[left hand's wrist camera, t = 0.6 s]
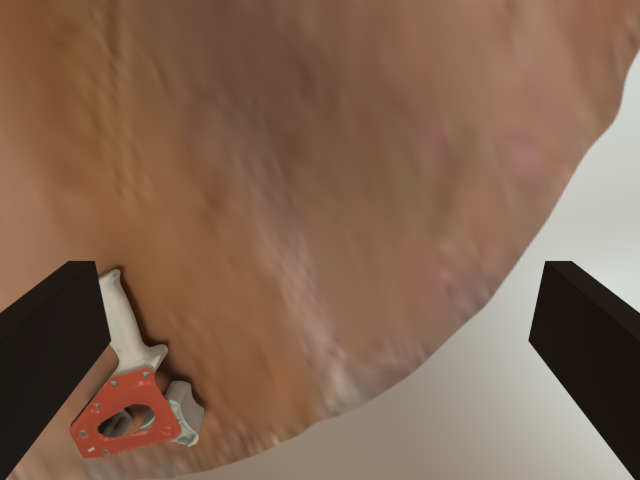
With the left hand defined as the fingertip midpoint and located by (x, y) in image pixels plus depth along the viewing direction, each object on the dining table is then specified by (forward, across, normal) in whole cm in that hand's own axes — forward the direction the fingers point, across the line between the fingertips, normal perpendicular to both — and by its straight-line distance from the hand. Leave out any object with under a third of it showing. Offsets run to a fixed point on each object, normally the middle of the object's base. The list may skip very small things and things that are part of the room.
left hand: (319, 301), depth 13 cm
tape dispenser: (+28, -19, -24) cm, 42 cm away
